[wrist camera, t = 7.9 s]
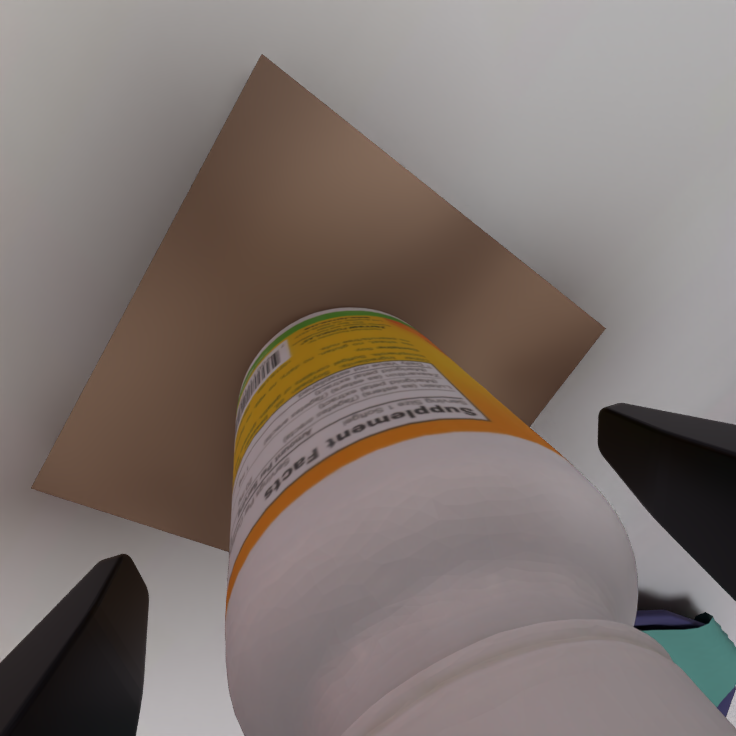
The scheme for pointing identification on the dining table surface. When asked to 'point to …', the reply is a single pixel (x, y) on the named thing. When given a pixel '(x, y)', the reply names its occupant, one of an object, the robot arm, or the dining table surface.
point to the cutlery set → (696, 651)
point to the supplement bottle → (425, 558)
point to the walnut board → (291, 306)
